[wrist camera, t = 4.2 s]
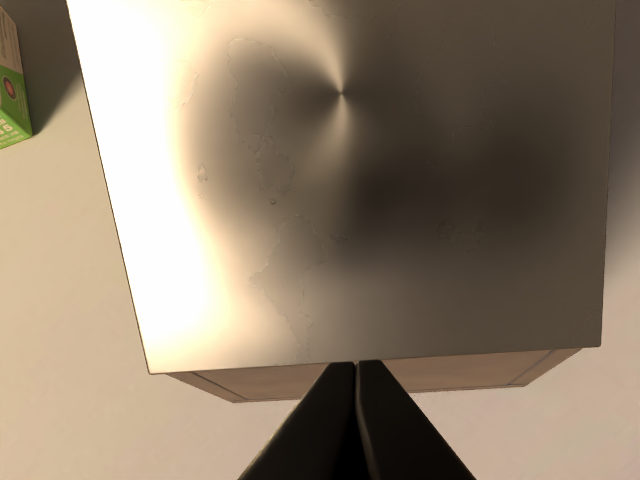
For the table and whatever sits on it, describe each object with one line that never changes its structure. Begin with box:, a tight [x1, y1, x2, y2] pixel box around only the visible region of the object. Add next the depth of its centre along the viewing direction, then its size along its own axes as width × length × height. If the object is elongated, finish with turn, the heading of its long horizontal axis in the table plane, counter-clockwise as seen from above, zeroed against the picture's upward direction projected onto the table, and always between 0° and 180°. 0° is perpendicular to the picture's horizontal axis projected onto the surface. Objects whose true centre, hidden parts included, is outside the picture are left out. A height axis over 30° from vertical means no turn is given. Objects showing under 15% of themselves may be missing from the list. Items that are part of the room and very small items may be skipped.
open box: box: [166, 348, 583, 403], centre depth 21 cm, size 13×12×8 cm
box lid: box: [65, 0, 616, 375], centre depth 13 cm, size 13×12×1 cm
